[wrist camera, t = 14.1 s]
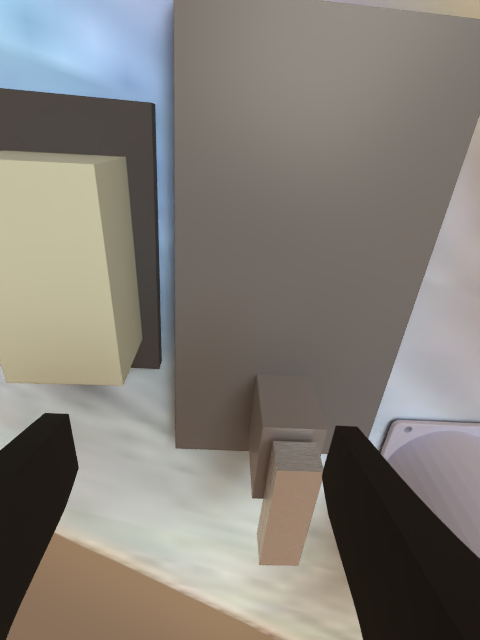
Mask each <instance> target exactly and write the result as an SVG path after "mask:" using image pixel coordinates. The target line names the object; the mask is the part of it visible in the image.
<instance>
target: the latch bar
mask: <svg viewBox="0 0 480 640" xmlns="http://www.w3.org/2000/svg"><path fill="white" fill-rule="evenodd" d="M322 473H323V465H322V462H321V458H320V455H319V451H318V447H317V444H316V443H312V442H287V441H273V444H272V450H271V456H270V461H269V467H268V473H267V479H266V484H265V490H264V496H263V502H262V508H261V513H260V519H259V525H258V531H257V540H258V555H259V565H292V566H298V564H299V560H300V557H301V553H302V550H303V546H304V543H305V539H306V536H307V532H308V529H309V525H310V522H311V518H312V514H313V511H314V507H315V504H316V500H317V497H318V493H319V490H320V486H321V483H322Z"/></svg>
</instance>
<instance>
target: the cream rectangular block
mask: <svg viewBox="0 0 480 640" xmlns="http://www.w3.org/2000/svg"><path fill="white" fill-rule="evenodd" d="M141 341H142V329H141V318H140V307H139V296H138V285H137V274H136V263H135V252H134V241H133V231H132V220H131V209H130V198H129V187H128V176H127V165H126V157H118V156H99V155H80V154H61V153H42V152H23V151H0V364H1V367H2V370H3V373H4V376H5V379H6V382H7V383H35V384H79V385H122V386H123V384H124V381H125V379H126V377H127V374H128V372H129V370H130V367H131V365H132V363H133V360H134V358H135V355H136V353H137V351H138V348H139V346H140V344H141Z"/></svg>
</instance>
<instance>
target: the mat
mask: <svg viewBox="0 0 480 640" xmlns="http://www.w3.org/2000/svg"><path fill="white" fill-rule="evenodd" d="M0 151H23V152H42V153H61V154H80V155H99V156H118V157H126V165H127V176H128V187H129V198H130V209H131V220H132V231H133V241H134V252H135V263H136V274H137V285H138V296H139V307H140V318H141V329H142V341H141V344H140V346H139V348H138V351H137V353H136V355H135V358H134V360H133V363H132V365H131V367H130V368H148V369H159V368H160V365H161V361H162V358H161V318H160V279H159V240H158V201H157V162H156V122H155V104H153V103H148V102H138V101H127V100H117V99H107V98H96V97H86V96H76V95H65V94H55V93H44V92H34V91H24V90H13V89H3V88H0Z"/></svg>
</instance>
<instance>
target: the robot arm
mask: <svg viewBox="0 0 480 640" xmlns="http://www.w3.org/2000/svg"><path fill="white" fill-rule="evenodd" d="M406 427H407V428H406ZM78 468H79V467H78V461H77V456H76V451H75V446H74V440H73V435H72V430H71V424H70V419H69V414H54V413H44V414H43V415H42V416H41V417H40V418H38V419H37V420H36V421H35V422H34V423H32V424H31V425H30V426H29V427H28V428H26V429H25V430H24V431H23V432H22V433H20V434H19V435H18V436H17V437H16V438H14V439H13V440H12V441H11V442H10V443H9V444H7V445H6V446H5V447H4V448H3V449H1V450H0V640H6V638H7V635H8V633H9V630H10V627H11V625H12V623H13V620H14V618H15V616H16V614H17V611H18V609H19V606H20V604H21V602H22V600H23V598H24V595H25V594H26V591H27V589H28V587H29V585H30V583H31V581H32V579H33V576H34V574H35V572H36V570H37V568H38V566H39V564H40V561H41V559H42V557H43V555H44V553H45V551H46V549H47V546H48V544H49V542H50V540H51V538H52V536H53V534H54V531H55V529H56V527H57V525H58V523H59V520H60V518H61V516H62V514H63V512H64V509H65V507H66V504H67V502H68V499H69V496H70V493H71V490H72V487H73V484H74V481H75V478H76V475H77V471H78ZM322 481H323V487H324V493H325V499H326V504H327V510H328V515H329V518H330V522H331V526H332V529H333V533H334V536H335V540H336V543H337V547H338V550H339V553H340V557H341V560H342V564H343V567H344V571H345V574H346V577H347V581H348V584H349V588H350V591H351V595H352V598H353V601H354V605H355V608H356V612H357V616H358V620H359V624H360V628H361V632H362V637H363V640H480V423H461V422H438V421H415V420H396V421H394V422H393V423H392V424H391V427H390V429H389V432H388V435H387V437H386V440H385V443H384V445H383V448H382V451H381V453H380V452H379V451H378V450H377V449H376V448H375V446H374V445H373V444H372V443H371V442H370V441H369V439H368V438H367V437H366V436H365V435H364V434H363V432H362V431H361V430H360V429H359V428H358V427H357V426H335V430H334V434H333V437H332V441H331V444H330V448H329V452H328V455H327V459H326V462H325V466H324V469H323V473H322Z"/></svg>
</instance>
